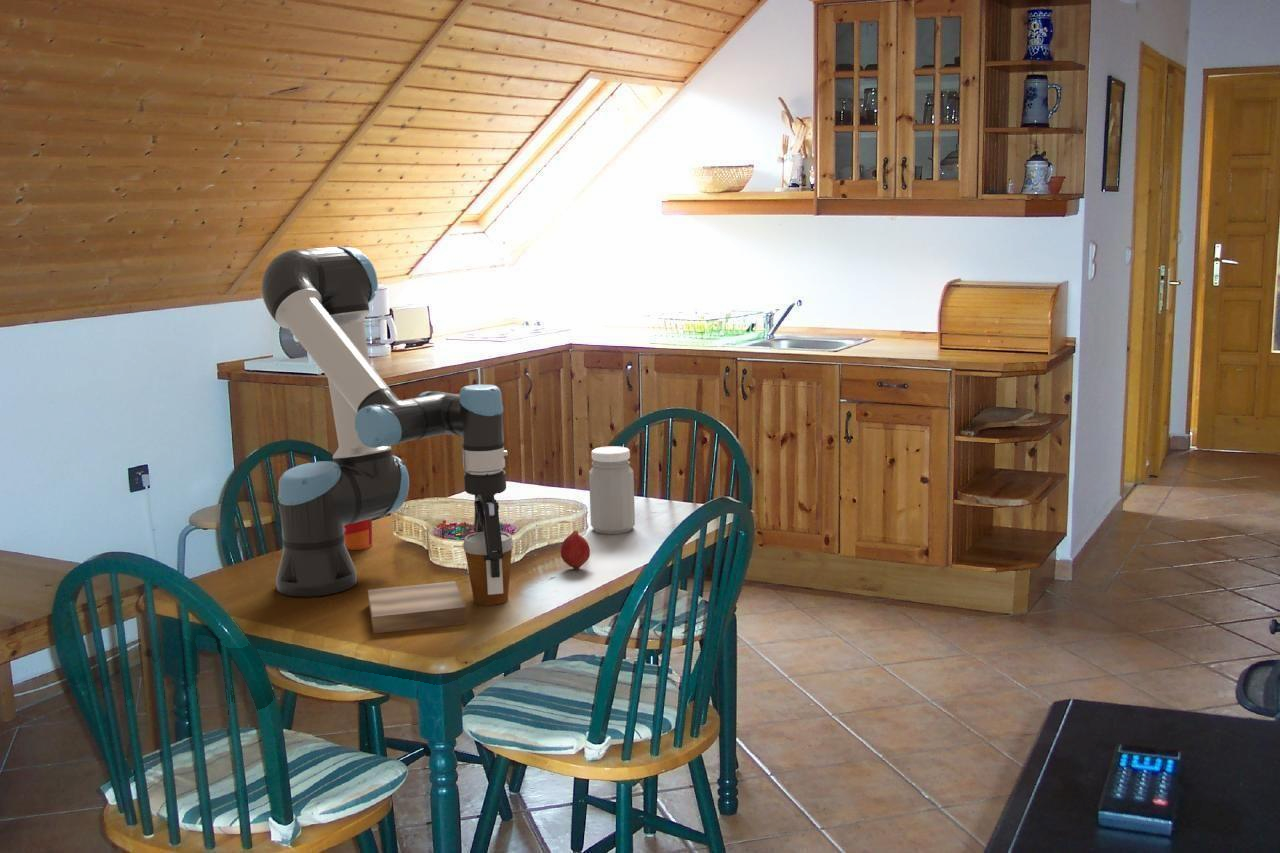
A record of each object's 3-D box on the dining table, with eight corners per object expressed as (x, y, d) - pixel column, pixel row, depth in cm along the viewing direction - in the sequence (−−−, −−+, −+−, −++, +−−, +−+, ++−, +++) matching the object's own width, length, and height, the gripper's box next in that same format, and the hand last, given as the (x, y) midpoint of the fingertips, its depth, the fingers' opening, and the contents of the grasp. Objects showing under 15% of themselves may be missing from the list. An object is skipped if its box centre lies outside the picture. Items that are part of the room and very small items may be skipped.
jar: (589, 535, 283) (586, 454, 280) (592, 524, 293) (589, 445, 290) (634, 535, 283) (631, 453, 280) (635, 523, 293) (633, 445, 289)
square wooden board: (368, 605, 239) (367, 589, 239) (455, 596, 243) (455, 581, 243) (373, 633, 224) (372, 616, 224) (466, 623, 228) (465, 607, 228)
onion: (561, 573, 256) (559, 534, 255) (561, 565, 262) (560, 526, 260) (590, 572, 256) (589, 533, 255) (590, 564, 262) (589, 525, 260)
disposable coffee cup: (508, 609, 235) (505, 544, 233) (457, 606, 237) (454, 543, 235) (523, 592, 245) (520, 531, 242) (474, 591, 246) (471, 529, 244)
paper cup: (355, 540, 285) (351, 477, 282) (384, 543, 281) (380, 480, 279) (332, 549, 278) (327, 485, 275) (361, 553, 274) (357, 488, 272)
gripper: (516, 483, 226) (521, 600, 229) (495, 455, 249) (500, 562, 253) (472, 486, 224) (478, 605, 228) (455, 458, 247) (461, 566, 251)
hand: (490, 582), depth 240 cm, fingers open, 13 cm apart
